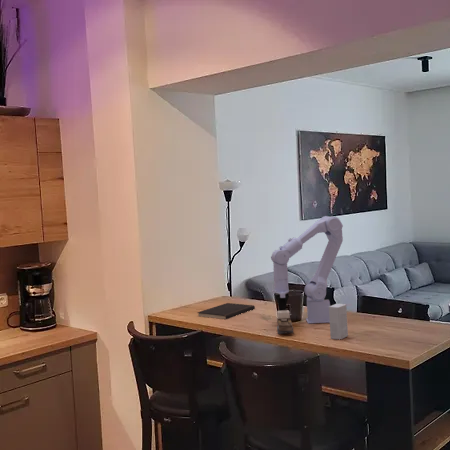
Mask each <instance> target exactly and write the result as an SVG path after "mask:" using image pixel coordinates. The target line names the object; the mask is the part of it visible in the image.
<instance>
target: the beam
mask: <svg viewBox="0 0 450 450" xmlns="http://www.w3.org/2000/svg"><path fill="white" fill-rule="evenodd" d="M276 321H277V322H276V323H277V326H276V332H277V334H279V335H280V334H283V335H284V334H294V326H293V322H292V320H291V317H290V318H287V321H281V319H278V317H276Z"/></svg>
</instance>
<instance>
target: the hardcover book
mask: <svg viewBox="0 0 450 450" xmlns="http://www.w3.org/2000/svg"><path fill="white" fill-rule="evenodd" d="M253 309H254V310H255V309H256V306H255V305H253V304H243V303H241V304H240V303H230V302H226V303H223V304H219V305H217V306H214V307H211V308H207V309H204V310H201V311H199V312H196V313H197V314H198V315H197V316H198V317H202V318H210V319H211V318H212V319H219V320H228V319H230V318H231V319H232V318H234V317H237V316H239V314H240V315H242V314H241V313H243V314H245V313H248V312H251V311H253ZM250 310H251V311H250ZM247 311H248V312H247ZM236 315H237V316H236Z"/></svg>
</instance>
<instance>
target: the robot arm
mask: <svg viewBox="0 0 450 450" xmlns="http://www.w3.org/2000/svg"><path fill="white" fill-rule="evenodd" d="M343 227H344V225H343V223H342V222H341V220H340V218H339V217H337V216H329V215H324V216H322V217H321V218H320V219H317V220H316V221H315V222H314V223H313V224H312V225H310V226H309V227H308V228H307V229H306V230H305V231H303V232H302V233H301V234H300V235H299V236H298V237H292V238H290V237H289V238H288V239H287V242H286V243H285V244H283V245H280V246H279V247H278V249H275V250H274V251H272V254H271V256H270V259H271V262H273V265H272V266H273V268H272V269H273V287H274V288H273V289H272V290H271V293H275V295H274V298H275V299H276V302H277V306H278V309H279V310H278V311H280V310H287V309H286V308H287V303H288V299H289V298H290V296H289V295H290V294H289V292H290V290H289V273H288V272H289V271H288V263H289V260H290V259H291V258H292V257H293V256H295V255H296V254H297V253H298V252H299V251H301V250H302V249H303V245H304V244H305V243H307V242H308V241H309V240H310V239H311V238H313V237H315V236H317V234H319V233H324V234H325V235H326V238H327V239H328V242H327V244H326V245H325V248H324V251H323V254H322V256H321V258H320V261H319V264H318V266H317V268H316V271H315V273H314V275H313V276H312V277H311V278H310V279H309V282H308V283H307V284H305V286H304V289H303V291H304V294H305V295H306V311H307V312H306V313H307V317H306V318H305V320H306V322H307V324H323V323H326V324H327V323H329V324H330V318H329V306H331V302H330V299H325V298H326V297H327V296H326V295H327V287H328V281H327V280H328V278H329V275H330V272H331V270H332V269H333V265H334V263H335V261H336V258H337V256H338V253H339V251H340V249H341V245H342V244H343V241H344V239H343V238H344V237H343Z"/></svg>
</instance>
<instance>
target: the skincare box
mask: <svg viewBox="0 0 450 450" xmlns="http://www.w3.org/2000/svg"><path fill="white" fill-rule="evenodd" d="M347 312H348V310H347V304H345V303H335V304H332V305H330V306H329V318H330V322H329V332H330V336H329V337H330V339H331V340H338V339H339V340H340V339H341V340H343V339H345V338H346V337H349V332H348V331H349V330H348V328H349V327H348V314H347ZM339 340H338V341H339Z"/></svg>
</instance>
